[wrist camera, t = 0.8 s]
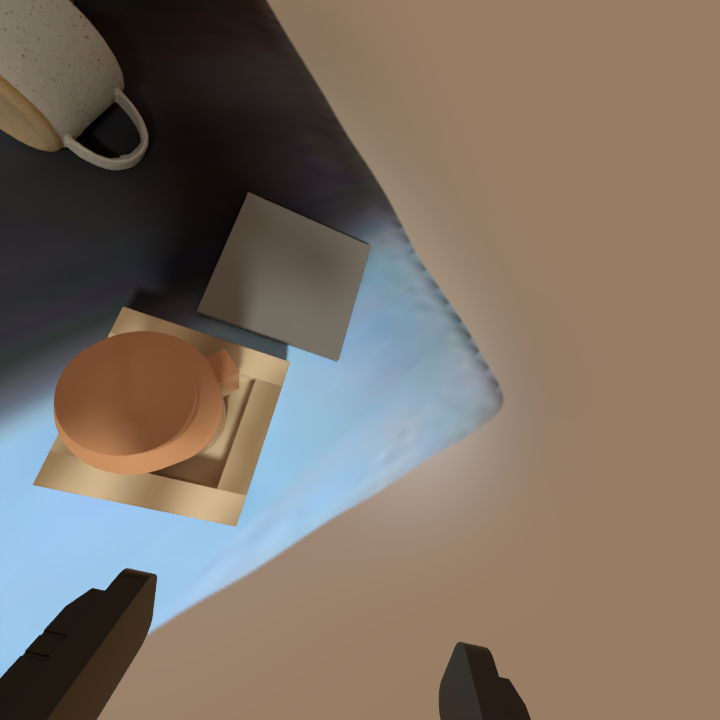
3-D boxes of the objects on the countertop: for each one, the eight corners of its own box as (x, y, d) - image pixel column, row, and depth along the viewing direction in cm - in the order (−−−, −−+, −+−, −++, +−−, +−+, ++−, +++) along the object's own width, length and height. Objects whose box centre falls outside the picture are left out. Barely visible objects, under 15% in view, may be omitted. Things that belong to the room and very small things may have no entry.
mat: (197, 313, 28) (196, 311, 28) (248, 196, 32) (248, 192, 31) (336, 361, 31) (338, 359, 30) (368, 249, 35) (370, 246, 34)
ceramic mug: (-29, 123, 26) (-127, 5, 19) (42, 57, 28) (-21, -69, 21) (118, 200, 28) (81, 121, 21) (171, 132, 31) (154, 41, 24)
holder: (53, 480, 23) (32, 484, 21) (133, 318, 27) (123, 306, 24) (236, 518, 26) (236, 526, 24) (286, 368, 29) (290, 362, 27)
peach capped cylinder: (164, 476, 25) (84, 517, 12) (118, 405, 25) (-13, 366, 12) (254, 419, 27) (270, 401, 14) (213, 355, 27) (191, 279, 14)
